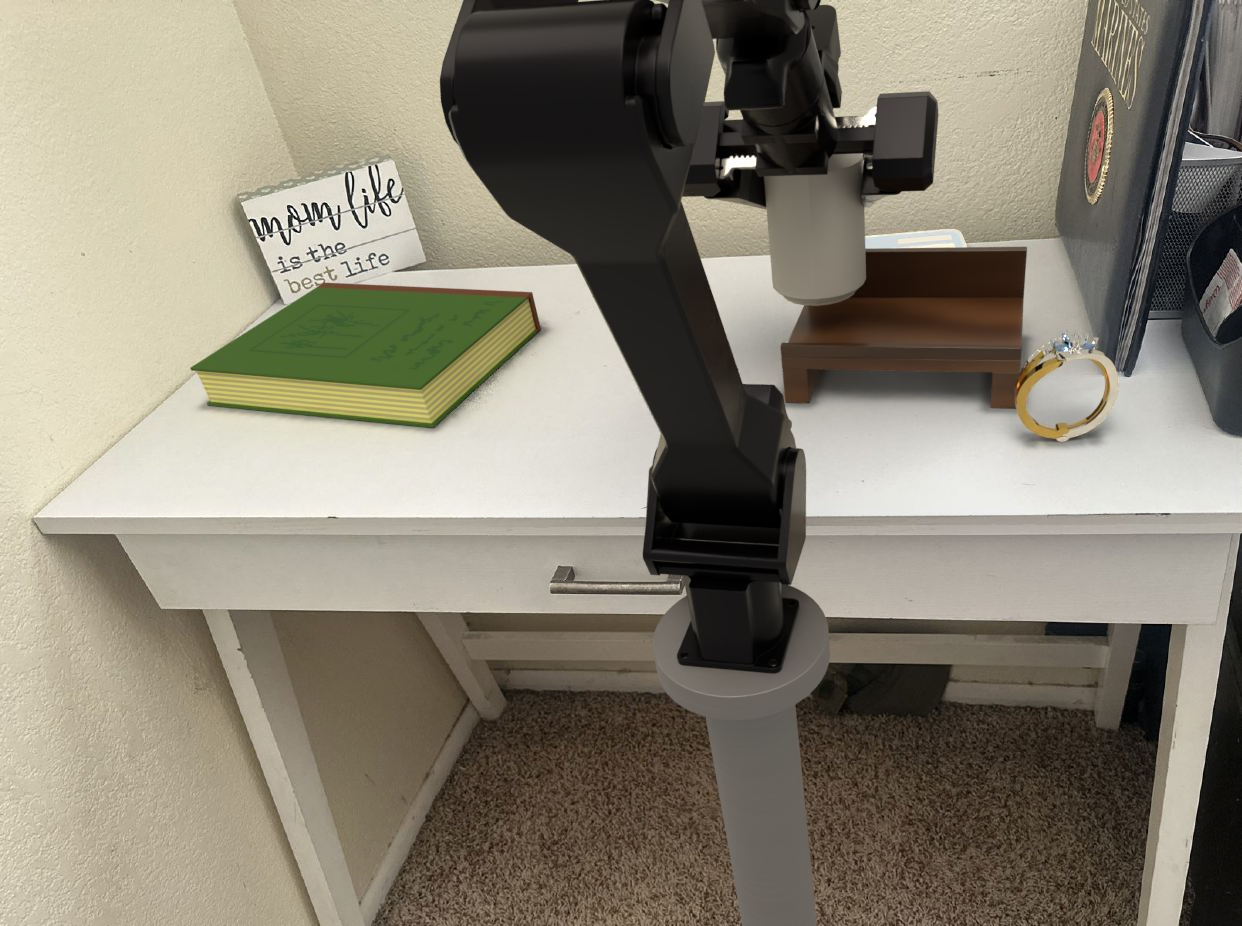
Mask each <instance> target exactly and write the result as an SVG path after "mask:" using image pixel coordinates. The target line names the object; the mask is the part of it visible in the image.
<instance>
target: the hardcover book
mask: <svg viewBox="0 0 1242 926" xmlns="http://www.w3.org/2000/svg"><path fill="white" fill-rule="evenodd" d="M540 323H541V322H540V319H539V314H538V311H537V307H536V301H535V298H534V293H533V292H532V291H517V290H515V291H514V290H495V289H494V290H492V289H474V288H473V289H472V288H451V287H449V288H448V287H428V286H408V285H407V286H406V285H385V284H363V283H343V282H341V283H340V282H322V283H321V284H319V285H318V286H316V287H314V288H312V290H310V291H308V292H307V293H305V294H304V295H302V296H301V297H298V298H297V299H296V300H293V302H291V303H289V304H288V305H287V306H285V307H283V308H281V309H279V310H278V311H277V312H276V313H274V314H272V315H271V316H269V317H268V318H266V319H264V320H263V321H261V322H260V323H258V324H257V325H255V326H254V327H252V328H250V329H249V330H247V331H246V332H244V333H242V334H241V335H239V336H238V337H236V338H234V339H233V340H232V341H230V342H228V343H227V344H225V345H224V346H222V347H221V348H219V349H217V350H216V351H214V352H213V353H211V354H210V355H208V356H206V357H205V358H203V359H202V360H200V361H198V362H197V363H195V364H194V365H192V366H191V367H190V368H189V369H190V371H192V372H196V374H197V376H198V378H199V381H200V383H201V384H202V386H203V389H204V391H205V393H206V396H207V397H208V399H209V401H207V402H206V405H207V406H210V407H218V408H229V409H239V410H240V409H241V410H249V411H250V410H251V411H259V412H260V411H261V412H271V413H278V414H279V413H281V414H290V415H300V416H311V417H321V418H331V419H339V420H341V419H342V420H349V421H350V420H351V421H361V422H369V423H371V422H372V423H379V424H381V423H382V424H390V425H391V424H392V425H402V426H410V427H421V428H432V429H434V428H435V427H436V426H438V424H439V423H440V422H442V421H443V420H444V419H446V417H447V416H449V414H450V413H452V411H453V410H455V409H456V408H457V407H458V406H459V405H461V403H462V402H463V401H464V400H466V399H467V398H468V397H469V396H470V395H471V394H472V393H473V392H474V391H476V389H477V388H479V387H480V386H481V385H482V384H483V383H484V382H485V381H487V379H488V378H490V376H493V374H494V373H495V372H496V371H497V370H498V369H499V368H501V367H502V366H503V365H504V364H505V363H506V362H507V361H508V360H510V358H511V357H512V356H514V354H516V353H517V352H518V351H519V350H520V349H521V348H523V346H524V345H526V344H527V343H528V342H529V341H530V340H531V339H532V338H533V337H535V336H536V335H537V334H538V332H539V331H541V330H542V327H541V324H540Z"/></svg>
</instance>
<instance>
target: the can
mask: <svg viewBox="0 0 1242 926" xmlns="http://www.w3.org/2000/svg"><path fill="white" fill-rule="evenodd" d="M863 164H864V161H863V153H861V154H832V156H831V157H830V158H829V162H828V173H827V175H795V176H764V185H765V197H766V209H767V210H766V209H765V210H766V219H767V232H768V233H767V234H768V244H769V256H770V269H771V280H772V281H771V282H772V289H774V290H775V291H776V292H777V294H779V295H781V296H782V297H783V298H784V299H785V300H786V301H787V302H790V303H793V304H794V305H800V306H804V305H809V306H819V305H829V304H833V303H837V302H841V301H843V300H845V299H848V298H849V297H851V296H852V295H853V294H854V293H855V291H856V290H857V289H858V288H860V287H861V286H862V285H863V284H864V282H865V280H866V254H865V236H866V221H865V219H866V218H865V217H866V216H865V207H864V206H863V205H862V199H861V187H862V175H863Z"/></svg>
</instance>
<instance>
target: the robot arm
mask: <svg viewBox="0 0 1242 926" xmlns="http://www.w3.org/2000/svg"><path fill="white" fill-rule="evenodd" d="M655 1H656V2H659V3H655V2H654V0H584V1H579V0H462V2H461V6H460V9H459V11H458V15H457V17H456V21H455V23H454V27H453V30H452V33H451V36H450V39H449V42H448V44H447V48H446V50H445V51H446V52H445V54H444V57H443V60H442V63H441V64H442V65H441V70H440V76H439V95H440V104H441V109H442V114H443V117H444V121H445V124H446V126H447V129H448V132H449V133H450V136H451V137H452V140H453V141H454V142H455V144H457V146H458V147H459V150H460V152H461V154H462V156H463V158H464V159H465V161H466V163H467V164H468V166H469V167H470V169H471V170H472V171H473V173H474V174H475V175H476V176H477V178H478V179H479V180H480V182H481V183H482V185H483V186H484V188H485V189H486V190H487V191H488V192H489V194H490V195H491V197H492V198H493V199H494V200H495V202H496V203H497V204H498V206H499V207H500V208H501V210H502V211H503V213H504V214H506V216H507V217H508V218H509V219H511V220H512V221H514V222H516V223H518V224H519V225H521V226H522V227H524V228H525V229H527V230H529V231H530V232H532V233H534V234H535V235H537V236H539V237H541V238H543V239H544V240H545V241H548V242H549V243H550V244H553V245H554V246H556V247H558V248H559V249H561V250H563V251H564V252H566V253H568V254H569V255H570V256H571V257H572V258H573V260H574V261H575V263H576V265H577V267H578V270H579V271H580V273H581V276H582V278H583V279H584V282H585V284H586V285H587V288H588V290H589V292H590V294H591V296H592V298H593V300H594V302H595V304H596V306H597V308H598V310H599V311H600V314H601V316H602V318H603V320H604V322H605V324H606V326H607V328H608V331H609V332H610V334H611V336H612V338H613V340H614V342H615V344H616V346H617V348H618V350H619V352H620V354H621V356H622V358H623V360H624V363H625V365H626V366H627V368H628V370H629V373H630V375H631V377H632V378H633V381H634V383H635V385H636V386H637V388H638V391H639V393H640V395H641V397H642V398H643V401H644V402H645V405H646V406H647V409H648V411H649V413H650V415H651V418H652V419H653V421H654V424H655V425H656V428H657V429H658V432H659V433H660V435H659V439H658V444H657V446H656V449H655V452H654V455H653V458H652V465H651V466H650V467H649V469H648V475H647V476H648V480H647V496H646V510H645V511H646V514H645V527H644V537H643V547H642V559H643V562H644V564H645V566H646V568H647V570H648V573H649V574H650V575H651V576H661V575H666V576H667V575H670V576H680V577H681V576H682V577H683V581H684V588H685V593H686V596H687V600H688V605H689V611H690V617H691V621H690V624H689V626H688V629H687V631H686V634H685V636H684V638H683V641H682V643H681V646H680V648H679V651H678V653H677V661H678V663H679V664H680V665H683V666H693V667H704V668H715V669H726V670H737V671H748V672H759V673H770V674H776V673H779V672H780V671H781V670H782V668H783V664H784V661H785V657H786V654H787V650H788V647H789V643H790V640H791V636H792V633H793V629H794V626H795V623H796V619H797V616H798V612H799V601H798V600H797V599H793V598H782V590H781V583H782V584H784V585H790V586H792V583H793V581H794V577H795V575H796V571H797V569H798V564H799V561H800V558H801V555H802V551H803V548H804V547H805V546H804V545H805V543H806V539H807V538H806V537H807V460H806V455H805V451H804V449H803V448H799V447H797V443H796V440H795V439H796V438H795V436H794V433H793V432H792V427H793V421H792V420H791V419H790V418H789V415H788V413H787V409H786V404H785V403H786V402H785V396H784V394H783V393H782V392H781V390H780V389H779V388H778V387H777V386H776V384H766V383H765V384H764V383H763V384H760V383H758V384H757V383H743V381H742V378H741V374H740V372H739V367H738V366H737V363H736V360H735V357H734V353H733V351H732V348H731V345H730V341H729V339H728V335H727V332H726V330H725V327H724V324H723V321H722V317H721V315H720V312H719V309H718V307H717V302H716V300H715V297H714V293H713V291H712V288H711V285H710V282H709V278H708V276H707V273H706V271H705V267H704V264H703V261H702V259H701V256H700V253H699V249H698V246H697V243H696V241H695V238H694V236H693V232H692V229H691V226H690V223H689V220H688V217H687V213H686V210H685V208H684V205H683V201H682V198H691V197H703V198H704V199H707V200H716V201H723V202H728V203H733V204H740V205H743V206H749V207H753V208H758V209H762V210H766V211H767V209H766V197H765V185H764V176H795V175H827V173H828V162H829V158H830V157H831V156H832V154H861V153H862V155H863V175H862V187H861V199H862V205H863V206H864V209H867V208H869V209H870V208H871V207H872V206H873V205H874V204H875V203H877V202H878V201H879V200H882V199H884V198H886V197H889V196H897V195H899V194H901V193H902V192H925V191H926V190H928V188H929V187H931V186H932V185H933V184H934V177H935V165H936V153H937V152H936V151H937V141H938V140H937V139H938V126H939V103H938V100H937V98H936V97H935V96H934V94H932V92H931V91H930V90H927V91H925V90H924V91H907V92H905V91H904V92H887V93H879V95H878V96H877V99H876V100H877V101H876V105H874V106H873V107H871V108H870V109H868V111H867V113H866V114H864V115H848V116H847V115H846V116H844V115H843V116H835V111H834V109H841V108H842V96H843V90H842V86H841V81H840V77H839V70H840V69H839V68H840V66H839V62H840V58H841V55H842V50H841V41H840V32H839V24H838V15H837V9H836V8H835V7H834V6H832V5H829V4H821V2H822V0H655ZM665 4H666V5H665ZM714 40H715V42H714ZM716 55H717V60H718V62H719V63H720V66H721V69H722V71H723V74H724V76H725V77H724V85H723V100H720V101H706V98H707V93H708V89H709V85H710V79H711V75H712V68H713V65H714V59H715V56H716ZM730 111H739V112H740V114H741V116H742V119H728V118H729V116H730V115H729V114H730ZM684 657H687V658H684ZM772 665H775V666H772Z"/></svg>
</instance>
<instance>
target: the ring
mask: <svg viewBox="0 0 1242 926" xmlns="http://www.w3.org/2000/svg"><path fill="white" fill-rule="evenodd" d="M1089 337H1090V334H1089V333H1085V334H1084V336H1083V335H1081V334H1080V331H1078V330H1075V332H1074V334H1073V335H1070V334H1068V330H1064V329H1062V331H1061V335H1059V336H1056V337H1054V338H1051V339H1050V340H1048V341H1046V342H1045V343H1044V344H1042V345H1041V346H1040V347H1038V348H1037V349H1036V350H1035V351H1034V352H1032V353H1031V354H1030V355H1029V357H1028V358H1027V359H1026V361H1025V362H1024V363H1023V366H1022V367H1021V368H1020V373H1019V376H1018V378H1017V381H1016V385H1015V391H1014V399H1015V405H1016V408H1015V409H1016V412H1017V416H1018V418H1019V420H1020V422H1021V423H1022V424H1023V426H1024V427H1025V428H1027V429H1028V430H1029V431H1030V432H1031V433H1033V434H1035V435H1037V436H1040V437H1043V438H1047V439H1054V440H1056V441H1057V442H1060V443H1063V442H1068V441H1069V439H1071V438H1075V437H1079V436H1081V435H1084V434H1086V433H1088V432H1090V431H1092V430H1093V429H1095V428H1096V427H1097V426H1099V425H1100V424H1101V423H1103V421H1104V420H1106V418H1107V417H1108V416H1109V414H1110V413H1111V411H1112V410H1113V408H1114V406H1115V405H1116V402H1117V400H1118V396H1119V392H1120V381H1119V375H1118V371H1117V369H1116V366H1115V364H1114V362H1113V361H1112V359H1111V357H1110V356H1109V355H1107V354H1106V353H1105V352H1102V351H1101V350H1099V349H1098V348H1097V345H1098V343H1099V340H1100V337H1097V336H1094V337H1093V339H1092V341H1091V343H1088V340H1089ZM1049 354H1051V355H1053V356H1055V357H1052V358H1050V359H1047V360H1045V361H1043V362H1041V361H1042V360H1044V359H1045V358H1046V357H1047V356H1048V355H1049ZM1083 359H1084V360H1090V361H1091V362H1093V363H1094V364H1095V365H1096V366H1097V367H1098V368H1099V369H1100V371H1101V373H1102V374H1103V378H1104V391H1103V395H1102V397H1101V400H1100V402H1099V403H1098V405H1097V407H1096V408H1095V409H1094V410H1093V411H1092V412H1091V413H1090V414H1089V415H1088V416H1087V417H1085V418H1084V419H1082V420H1080V421H1077V422H1075V423H1070V424H1067V423H1066V422H1058V423H1056V424H1055V425H1049V424H1046V423H1045V424H1044V423H1042V422H1040V421H1038V420H1036V419H1035V418H1034V417H1033V416H1031V415H1030V413H1029V412H1028V410H1027V398H1028V396H1029V394H1030V392H1031V390H1032V389H1033V387H1034V386H1036V384H1037V383H1038V382H1039V381H1040V380H1041V379H1043V378H1044V377H1045V376H1047V375H1048V374H1050V373H1052V372H1053V371H1055V370H1056V369H1058V368H1060V367H1063V364H1064V363H1065V362H1071V361H1076V360H1083ZM1040 362H1041V363H1040Z"/></svg>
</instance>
